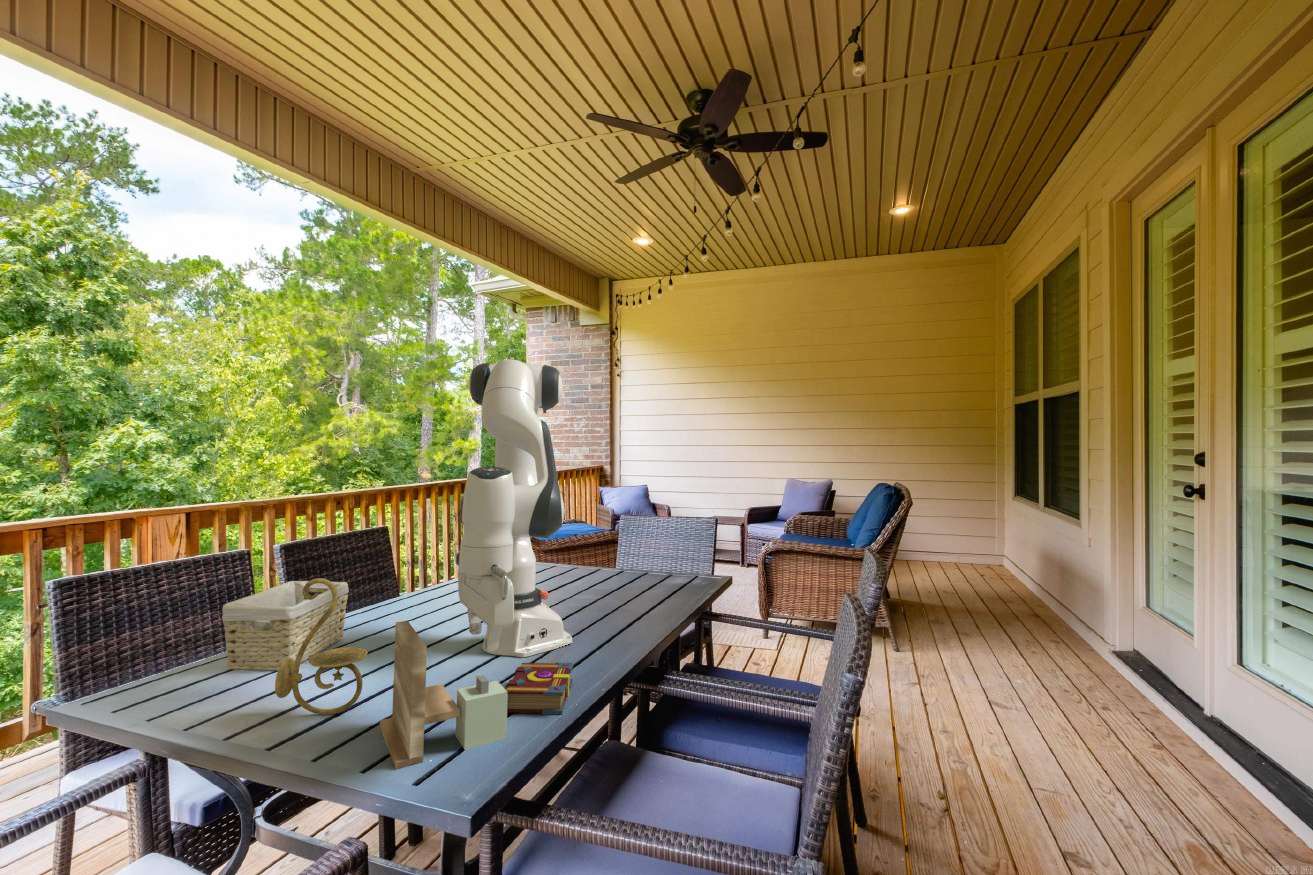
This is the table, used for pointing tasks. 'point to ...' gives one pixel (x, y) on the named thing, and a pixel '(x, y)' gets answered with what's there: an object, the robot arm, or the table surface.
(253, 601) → the storage basket
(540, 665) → the decorative book
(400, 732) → the wall board
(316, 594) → the wall sconce
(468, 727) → the sage cabinet
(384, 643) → the table surface
